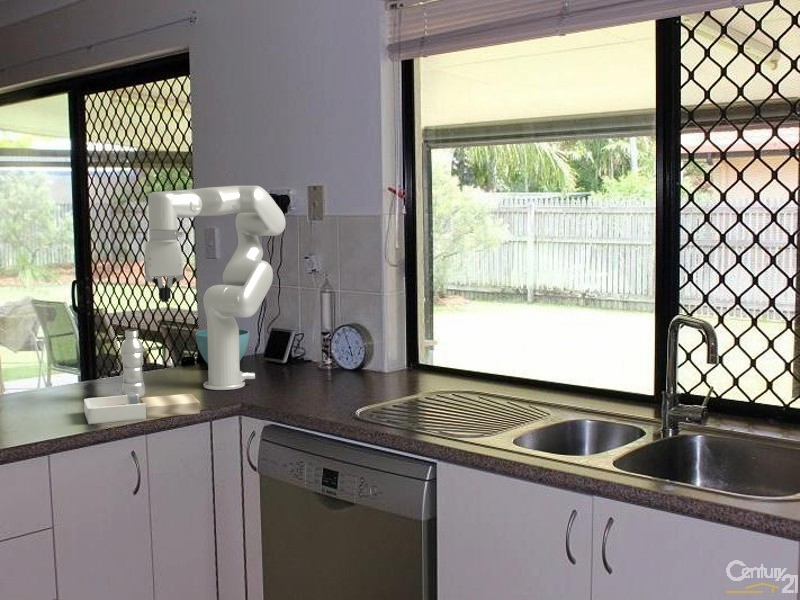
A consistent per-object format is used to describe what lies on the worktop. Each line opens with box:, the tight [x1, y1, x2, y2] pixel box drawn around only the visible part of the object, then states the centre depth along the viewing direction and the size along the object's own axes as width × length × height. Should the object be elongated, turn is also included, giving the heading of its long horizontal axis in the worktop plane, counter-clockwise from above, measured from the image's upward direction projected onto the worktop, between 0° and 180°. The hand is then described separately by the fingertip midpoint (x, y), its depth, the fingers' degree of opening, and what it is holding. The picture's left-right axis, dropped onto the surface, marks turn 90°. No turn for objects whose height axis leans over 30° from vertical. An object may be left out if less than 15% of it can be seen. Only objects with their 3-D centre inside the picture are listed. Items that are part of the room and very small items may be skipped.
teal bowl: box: [195, 328, 250, 365], centre depth 304 cm, size 18×18×12 cm
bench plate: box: [139, 393, 201, 419], centre depth 241 cm, size 14×12×3 cm
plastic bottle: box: [119, 329, 146, 398], centre depth 255 cm, size 6×7×20 cm
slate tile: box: [127, 392, 138, 405], centre depth 236 cm, size 5×5×2 cm
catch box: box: [83, 394, 147, 425], centre depth 235 cm, size 14×13×4 cm
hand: (164, 301), depth 247 cm, fingers closed
